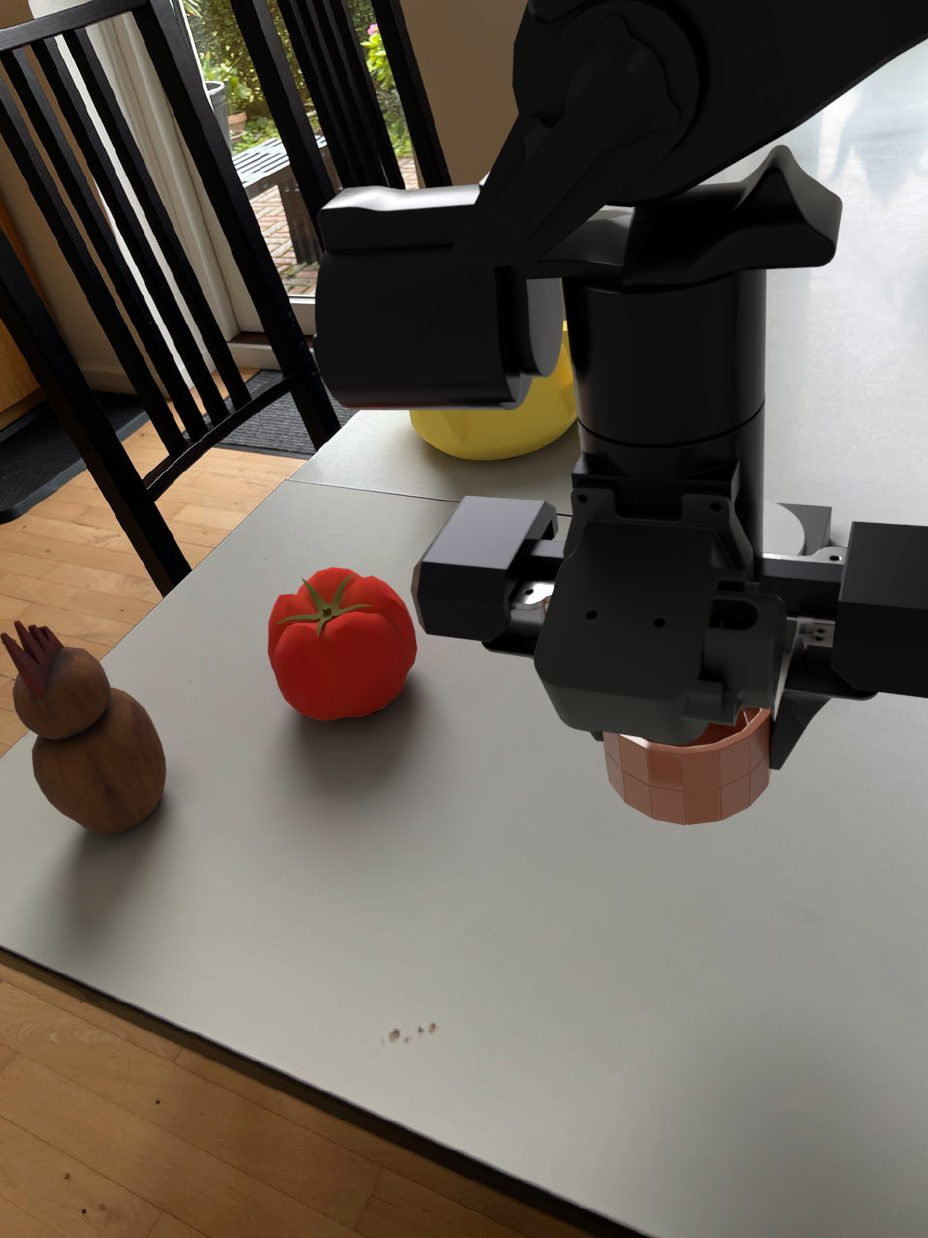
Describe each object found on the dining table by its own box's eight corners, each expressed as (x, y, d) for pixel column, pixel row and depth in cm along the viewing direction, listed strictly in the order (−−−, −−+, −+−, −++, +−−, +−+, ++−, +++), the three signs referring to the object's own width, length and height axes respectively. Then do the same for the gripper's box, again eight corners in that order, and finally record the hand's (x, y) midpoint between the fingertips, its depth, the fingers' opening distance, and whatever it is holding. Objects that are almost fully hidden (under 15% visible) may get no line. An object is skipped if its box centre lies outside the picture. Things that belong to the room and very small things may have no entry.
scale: (829, 537, 67) (832, 498, 65) (801, 654, 59) (803, 613, 57) (654, 522, 72) (652, 485, 70) (606, 628, 64) (602, 590, 62)
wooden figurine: (136, 860, 56) (15, 661, 46) (55, 843, 58) (-76, 649, 48) (198, 769, 60) (100, 572, 51) (121, 757, 62) (13, 566, 53)
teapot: (623, 442, 81) (611, 300, 74) (426, 494, 80) (394, 356, 73) (564, 363, 95) (549, 236, 87) (394, 407, 94) (364, 282, 86)
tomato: (348, 629, 69) (319, 540, 64) (451, 665, 64) (428, 571, 59) (254, 717, 63) (215, 627, 59) (359, 763, 58) (326, 669, 54)
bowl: (782, 724, 42) (785, 644, 39) (757, 848, 38) (758, 767, 35) (630, 702, 45) (622, 626, 42) (588, 815, 40) (577, 738, 37)
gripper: (286, 527, 29) (400, 859, 39) (1011, 590, 22) (929, 980, 31) (434, 353, 37) (499, 667, 46) (1009, 356, 29) (943, 728, 39)
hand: (686, 747), depth 40 cm, fingers closed on bowl, 7 cm apart
